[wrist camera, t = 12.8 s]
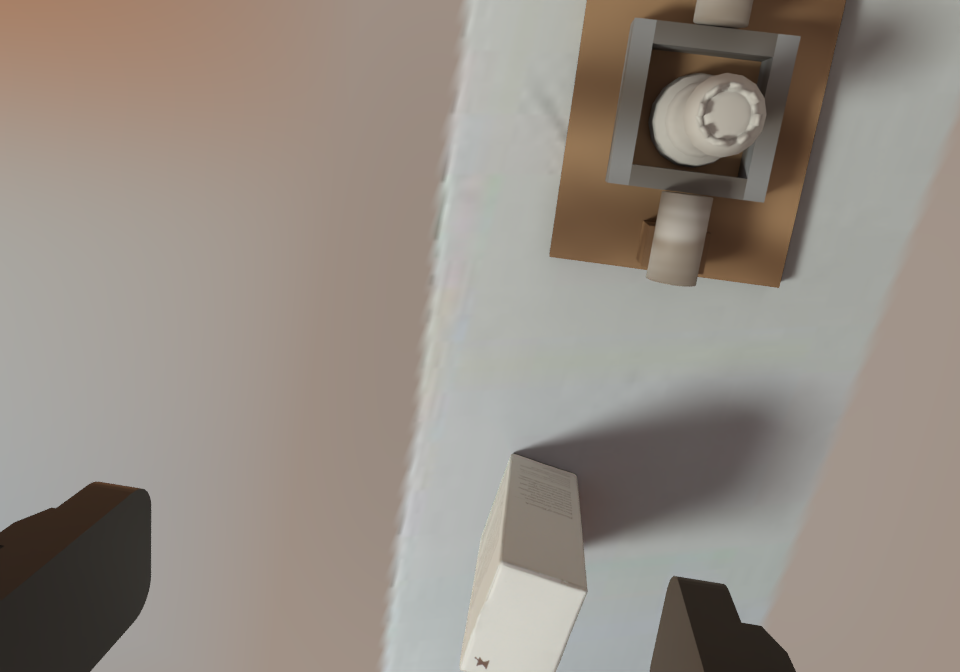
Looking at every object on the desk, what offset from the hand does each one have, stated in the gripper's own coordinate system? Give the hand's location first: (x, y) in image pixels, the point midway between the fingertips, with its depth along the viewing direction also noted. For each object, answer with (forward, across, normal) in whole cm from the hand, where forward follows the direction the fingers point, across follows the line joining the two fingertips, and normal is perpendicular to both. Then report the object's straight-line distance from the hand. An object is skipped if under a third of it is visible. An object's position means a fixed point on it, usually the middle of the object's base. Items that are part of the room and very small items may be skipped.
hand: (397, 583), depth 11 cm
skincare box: (+30, -3, +14) cm, 34 cm away
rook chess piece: (+29, -8, -9) cm, 32 cm away
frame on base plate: (+30, -8, -9) cm, 32 cm away
